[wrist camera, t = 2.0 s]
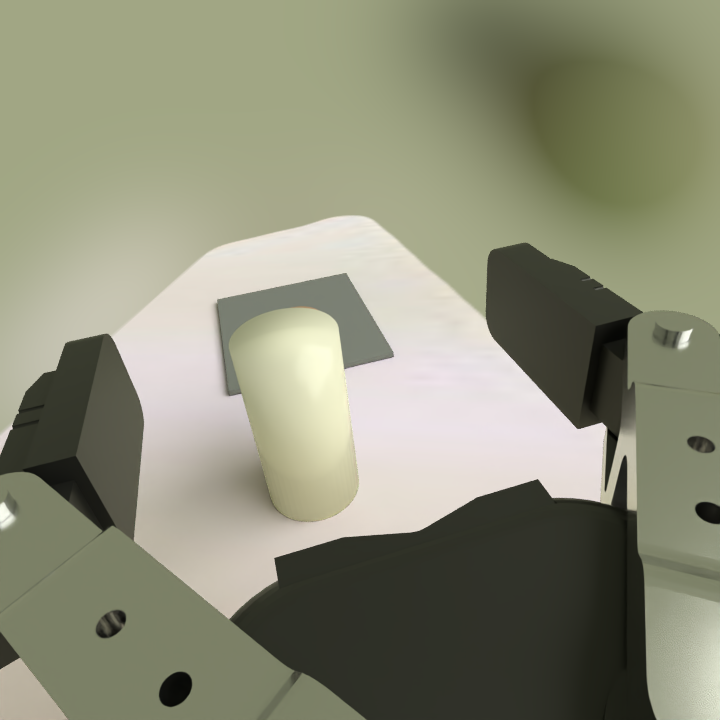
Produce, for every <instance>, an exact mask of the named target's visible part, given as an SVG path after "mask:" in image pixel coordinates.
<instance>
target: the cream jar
mask: <svg viewBox="0 0 720 720" xmlns="http://www.w3.org/2000/svg"><path fill="white" fill-rule="evenodd" d="M229 351H230V354H231V358H232V361H233V365H234V368H235V372H236V376H237V379H238V383H239V386H240V390H241V393H242V397H243V400H244V404H245V408H246V411H247V415H248V418H249V422H250V425H251V429H252V432H253V436H254V440H255V443H256V447H257V450H258V454H259V457H260V461H261V464H262V468H263V472H264V475H265V479H266V482H267V486H268V489H269V493H270V496H271V500H272V503H273V505H274V506H275V508H276V509H277V510H278V511H279V512H280V513H281V514H283V515H284V516H286V517H288V518H290V519H293V520H297V521H304V522H313V521H320V520H324V519H327V518H330V517H332V516H334V515H336V514H338V513H340V512H341V511H343V510H344V509H345V508H346V507H347V506H348V505H349V504H350V503H351V502H352V501H353V499H354V498H355V496H356V494H357V491H358V487H359V476H358V469H357V461H356V454H355V446H354V439H353V432H352V424H351V417H350V409H349V402H348V394H347V387H346V380H345V372H344V365H343V357H342V350H341V342H340V335H339V327H338V324H337V323H336V321H335V320H334V319H333V318H332V317H331V316H330V315H328V314H326V313H324V312H322V311H319V310H315V309H310V308H285V309H278V310H274V311H270V312H267V313H263V314H261V315H258V316H256V317H254V318H252V319H250V320H248V321H247V322H245V323H244V324H242V325H241V326H240V327H239V328H237V330H236V331H235V332H234V333H233V335H232V336H231V338H230V341H229Z"/></svg>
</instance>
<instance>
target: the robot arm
mask: <svg viewBox="0 0 720 720" xmlns="http://www.w3.org/2000/svg"><path fill="white" fill-rule="evenodd" d="M486 320H487V325H488V328H489V331H490V333H491V335H492V337H493V338H494V340H495V341H496V342H497V343H498V344H499V345H500V346H501V347H502V348H503V349H504V350H505V352H506V353H507V354H508V355H509V356H510V357H511V358H512V359H513V360H514V361H515V362H516V363H517V364H518V366H519V367H520V368H521V369H522V370H523V371H524V372H525V373H526V374H527V375H528V376H529V377H530V378H531V380H532V381H533V382H534V383H535V384H536V385H537V386H538V387H539V388H540V389H541V390H542V391H543V392H544V393H545V395H546V396H547V397H548V398H549V399H550V400H551V401H552V402H553V403H554V404H555V405H556V406H557V407H558V409H559V410H560V411H561V412H562V413H563V414H564V415H565V416H566V417H567V418H568V419H569V420H570V421H571V423H572V424H573V425H574V426H575V427H576V428H577V429H581V428H584V427H588V426H591V425H595V424H598V423H603V424H604V425H605V426H606V431H605V436H604V441H603V459H602V478H601V497H600V502H595V501H590V500H583V499H574V498H552V497H551V496H550V495H549V493H548V492H547V491H546V489H545V488H544V487H543V485H542V484H541V483H540V481H539V480H538V479H537V480H534V481H531V482H527V483H524V484H521V485H517V486H514V487H510V488H507V489H504V490H500V491H497V492H494V493H490V494H487V495H484V496H480V497H477V498H475V499H474V500H472V501H470V502H469V503H467V504H465V505H464V506H462V507H460V508H458V509H457V510H455V511H453V512H452V513H450V514H448V515H447V516H445V517H443V518H441V519H440V520H438V521H436V522H435V523H433V524H431V525H429V526H428V527H426V528H424V529H422V530H420V531H417V532H411V533H398V534H384V535H371V536H357V537H343V538H340V539H337V540H333V541H330V542H327V543H323V544H320V545H316V546H313V547H310V548H306V549H303V550H300V551H296V552H293V553H290V554H286V555H283V556H280V557H276V558H274V559H275V565H276V571H277V577H278V581H276V582H275V583H273V584H271V585H269V586H268V587H266V588H265V589H263V590H262V591H261V592H259V593H258V594H256V595H255V596H254V597H252V598H251V599H250V600H249V601H248V602H247V603H245V604H244V605H243V606H242V607H241V608H240V609H239V610H238V611H237V612H236V613H235V614H234V615H233V616H232V617H231V618H230V619H228V618H226V617H225V616H224V615H223V614H222V613H220V612H219V611H218V610H217V609H215V608H214V607H213V606H212V605H211V604H209V603H208V602H207V601H206V600H204V599H203V598H202V597H201V596H200V595H198V594H197V593H196V592H195V591H194V590H192V589H191V588H190V587H189V586H187V585H186V584H185V583H184V582H183V581H181V580H180V579H179V578H178V577H176V576H175V575H174V574H173V573H172V572H170V571H169V570H168V569H167V568H165V567H164V566H163V565H162V564H161V563H159V562H158V561H157V560H156V559H155V558H153V557H152V556H151V555H150V554H148V553H147V552H146V551H145V550H144V549H142V548H141V547H140V546H139V545H137V544H136V543H135V542H134V530H135V518H136V507H137V496H138V485H139V474H140V462H141V451H142V440H143V429H144V419H143V412H142V408H141V404H140V400H139V398H138V395H137V393H136V390H135V388H134V386H133V383H132V381H131V379H130V377H129V374H128V372H127V370H126V367H125V365H124V363H123V361H122V358H121V356H120V354H119V351H118V349H117V347H116V345H115V343H114V341H113V339H112V338H111V336H110V335H109V334H102V335H98V336H93V337H89V338H84V339H80V340H75V341H70V342H67V343H66V344H65V346H64V349H63V352H62V354H61V357H60V360H59V364H58V366H57V369H56V371H52V372H47V373H44V374H43V375H42V376H41V377H40V378H39V379H38V380H37V381H36V382H35V383H34V384H33V385H32V386H31V387H30V388H29V389H28V390H27V391H26V393H25V395H24V398H23V400H22V403H21V405H20V408H19V410H18V411H19V414H17V415H16V418H15V420H14V423H13V425H12V427H13V430H10V433H9V435H8V438H7V440H6V443H5V445H4V448H3V450H2V453H1V455H0V669H1V668H3V667H5V666H6V665H8V664H10V663H11V662H13V661H15V660H17V659H18V658H21V659H22V660H23V661H24V663H25V664H26V665H27V667H28V668H29V669H30V671H31V672H32V673H33V674H34V676H35V677H36V678H37V680H38V681H39V682H40V683H41V685H42V686H43V687H44V689H45V690H46V691H47V692H48V694H49V695H50V696H51V698H52V699H53V700H54V701H55V703H56V704H57V705H58V707H59V708H60V709H61V710H62V712H63V713H64V714H65V716H66V717H67V718H68V719H69V720H720V334H718V332H717V330H716V329H715V328H714V327H713V326H712V325H710V324H709V323H708V322H706V321H704V320H702V319H700V318H698V317H695V316H692V315H689V314H685V313H681V312H675V311H650V312H645V313H643V312H642V311H640V310H639V309H637V308H636V307H634V306H633V305H631V304H630V303H628V302H627V301H625V300H624V299H622V298H621V297H619V296H618V295H616V294H615V293H613V292H612V291H610V290H609V289H607V288H603V285H601V284H600V283H598V282H597V281H595V280H594V279H590V276H588V275H587V274H585V273H584V272H582V271H581V270H579V269H578V268H576V267H575V266H572V265H569V264H566V263H563V262H559V261H557V260H554V259H550V258H549V257H547V256H546V255H544V254H543V253H541V252H540V251H538V250H537V249H536V248H534V247H533V246H531V245H530V244H528V243H521V244H516V245H512V246H507V247H503V248H498V249H494V250H492V251H491V252H490V254H489V257H488V265H487V293H486Z"/></svg>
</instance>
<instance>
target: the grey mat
mask: <svg viewBox="0 0 720 720" xmlns="http://www.w3.org/2000/svg"><path fill="white" fill-rule="evenodd" d="M217 302H218V310H219V318H220V326H221V334H222V342H223V350H224V358H225V367H226V375H227V383H228V391H229V394H230V395H234V394H239V393H241V390H240V386H239V383H238V379H237V376H236V372H235V368H234V365H233V361H232V358H231V354H230V351H229V341H230V338H231V336H232V335H233V333H234V332H235V331H236V330H237V328H239V327H240V326H241V325H242V324H244V323H245V322H247V321H248V320H250V319H252V318H254V317H256V316H258V315H261V314H263V313H267V312H270V311H274V310H278V309H285V308H291V307H298V306H306V307H312V308H315V309H317V310H319V311H322V312H324V313H326V314H328V315H330V316H331V317H332V318H333V319H334V320H335V321H336V323H337V324H338V327H339V335H340V342H341V350H342V357H343V365H344V368H348V367H352V366H356V365H361V364H365V363H369V362H373V361H377V360H382V359H386V358H390V357H394V355H393V351H392V349H391V348H390V346H389V344H388V343H387V341H386V339H385V337H384V336H383V334H382V332H381V331H380V329H379V327H378V326H377V324H376V322H375V321H374V319H373V317H372V316H371V314H370V312H369V311H368V309H367V307H366V306H365V304H364V302H363V301H362V299H361V297H360V296H359V294H358V292H357V291H356V289H355V287H354V286H353V284H352V282H351V281H350V279H349V277H348V276H347V274H346V273H344V274H339V275H334V276H329V277H324V278H319V279H315V280H310V281H305V282H300V283H295V284H291V285H286V286H281V287H276V288H271V289H266V290H262V291H257V292H252V293H247V294H242V295H237V296H233V297H228V298H223V299H218V300H217Z"/></svg>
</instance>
